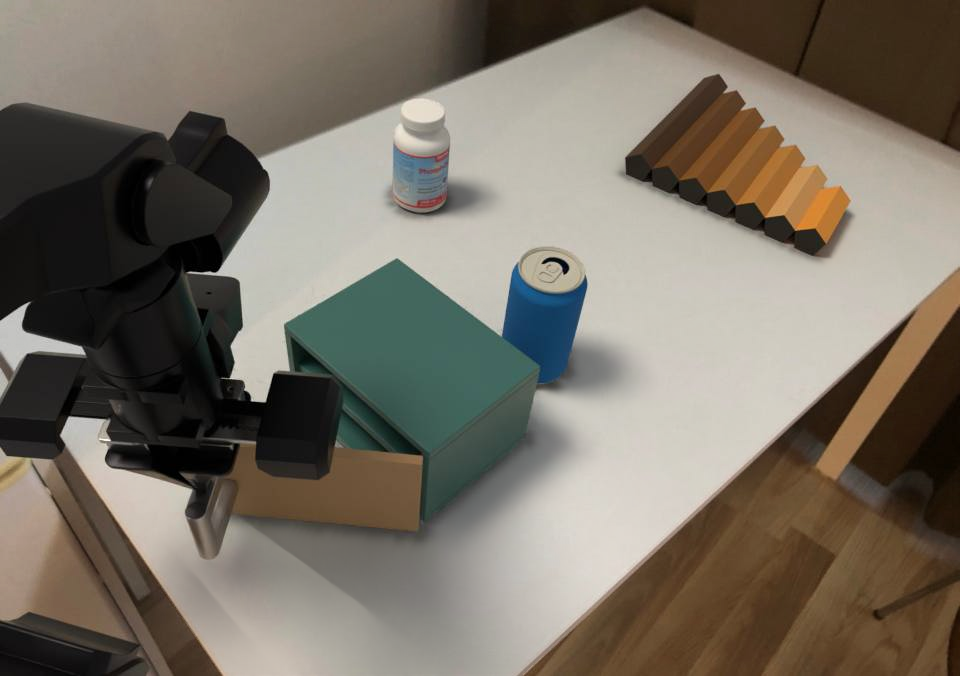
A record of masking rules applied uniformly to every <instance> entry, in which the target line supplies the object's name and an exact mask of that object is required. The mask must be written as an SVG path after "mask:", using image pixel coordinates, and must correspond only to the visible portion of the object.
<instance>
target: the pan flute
mask: <svg viewBox="0 0 960 676" xmlns="http://www.w3.org/2000/svg"><path fill="white" fill-rule="evenodd" d="M728 88H729V86H728V84H727V82H726V81H725V80H724V78H723V77H722V75H721V74H720V73H716V74H712V75H709V76H705V77H704V78H702V79H701V80H700V81H699V82H698V83H697V85H695V86H694V87H693V88H692V89H691V90H690V91H689V93H687V95H685V97H683V98H682V100H680V101H679V103H678V104H676V105H675V106H674V107H673V109H671V111H669V113H668V114H666V115H665V116H664V117H663V118H662V119H661V120H660V121H659V123H658V124H657V125H656V126H655V127H653V128H652V130H651V131H650V132H649V133H648V134H647V135H646V136H645V137H644V138H642V140H640V142H639V143H638V144H637V145H636V146H635V147H634V148H633V149H632V150H631V151H630V152H629V153H627V155H626V156H625V157H624V162H625V175H627V176H630V177H632V178H634V179H637V180H639V181H641V182H643V181H644V180H645V179H647V177H648V176H649V175H650V174H651V184H652V187H655V188H657V189H659V190H662V191H663V192H666V193H668V194H670V192H671V191H673V189H674V188H675V187H676V186H677V185H678V194H679V195H678V196H679V198H680V199H682V200H684V201H687V202H689V203H691V204H693V205H695V206H696V205H698V204H699V203H700V201H701V200H702V199H703V198H704V197H705V196H706V210H707V211H709V212H712V213H714V214H717V215H719V216H721V217H723V218H725V217H726V216H727V215H728V214H729V213H730V212H731V211H732V210H733V208H735V214H734V215H735V216H734V221H735V223H737V224H739V225H742V226H744V227H746V228H749V229H751V230H754V229H755V228H757V226H759V225H760V224H761V223H762V221H763V220H764V235H765V236H767V237H769V238H770V239H771V238H772V239H774V240H776V241H778V242H781V243H784V242H785V241H786V240H787V239H788V238H789V237H790V236H792V234H793V233H794V243H793V244H794V246H793V248H794V249H796V250H799V251H801V252H804V253H806V254H808V255H810V256H813V257H814V255H816V254H817V253H818V252H819V251H820V250H821V249H823V248H824V247H825V246H826V245H827V243H828V242H829V240H830V239H831V237H832V236H833V233H834V231H835V230H836V228H837V226H838V225H839V223H840V221H841V219H842V217H843V215H844V214H845V212H846V210H847V208H848V207H849V205H850V203H851V202H852V200H851V199H850V198H849V195H848V194H847V193H846V191H845V190H844V188H843V187H842V185H836V186H830V187H825V188H824V186H825V184H826V182H827V181H828V178H827V176H826V175H825V173H824V172H823V170H822V169H821V167H820V165H819V164H813V165H807V166H802V165H803V163H804V162H805V160H806V157H805V155H804V154H803V153H802V151H801V149H800V148H799V147H798V146H797V144H790V145H785V146H781V145H782V144H783V142H784V141H785V139H786V138H784V135H782V133H781V132H780V131H779V129H778V127H777V126H776V125H771V126H766V127H761V126H762V125H763V124H764V123H765V118H764V117H763V115H761V113H760V112H759V111H758V108H756V107H750V108H746V109H743V108H744V107H745V105H746V104H747V102H746V101H745V100H744V98H743V97H742V95H741V94H740V92H739V91H738V90H737V89H735V90H731V91H727V92H726V90H727V89H728ZM780 146H781V147H780ZM801 166H802V167H801Z"/></svg>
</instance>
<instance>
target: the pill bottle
mask: <svg viewBox="0 0 960 676" xmlns="http://www.w3.org/2000/svg"><path fill="white" fill-rule="evenodd" d="M399 120H400V123H399V124H398V125H396V127H395V129H394V132H393V137H392V138H393V143H392V150H393V151H392V197H393V198H392V199H393V200H394V201H395V203H396V204H397V205H398V206H400V207H401V208H403V209H405V210H408V211H410V212H414V213H419V214H420V213H421V214H425V213H429V212H434V211H435V210H438V209H440V208H441V207H442V206H443V205H444V203H445V202H446V200H447V192H448V178H449V164H450V152H451V151H450V150H451V135H450V132H449V130H448V129H447V127H446V126H445V123H446V109H445V107H444V106H443V105H442V104H441V103H439V102H437V101H436V100H433V99H429V98H414V99H413V98H412V99H410V100H408V101H406V102H404V103H403V104H402V106H401V108H400V117H399Z"/></svg>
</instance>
